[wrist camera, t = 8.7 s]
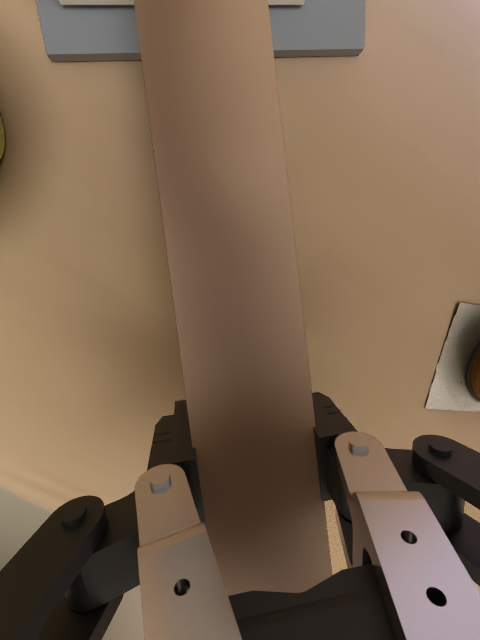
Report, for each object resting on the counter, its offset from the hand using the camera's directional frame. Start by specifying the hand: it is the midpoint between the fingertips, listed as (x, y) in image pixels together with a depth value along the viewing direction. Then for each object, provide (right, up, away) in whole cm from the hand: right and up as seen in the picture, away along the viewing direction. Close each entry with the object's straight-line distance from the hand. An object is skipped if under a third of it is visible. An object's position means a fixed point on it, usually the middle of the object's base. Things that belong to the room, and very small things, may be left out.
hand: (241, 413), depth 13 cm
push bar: (-1, +4, +2) cm, 5 cm away
